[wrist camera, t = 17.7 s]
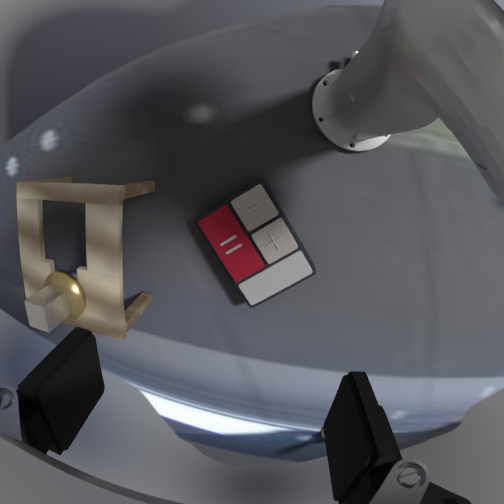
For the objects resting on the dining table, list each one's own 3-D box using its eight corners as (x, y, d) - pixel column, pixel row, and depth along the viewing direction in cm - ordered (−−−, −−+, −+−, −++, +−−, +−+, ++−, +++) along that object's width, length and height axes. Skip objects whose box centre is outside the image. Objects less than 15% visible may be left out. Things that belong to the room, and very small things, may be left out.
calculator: (261, 178, 38) (318, 274, 40) (263, 178, 42) (314, 265, 45) (192, 221, 40) (249, 311, 42) (199, 217, 44) (252, 299, 47)
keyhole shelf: (64, 175, 42) (16, 181, 31) (157, 179, 42) (119, 186, 30) (67, 284, 48) (29, 311, 36) (152, 302, 48) (123, 340, 36)
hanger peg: (78, 248, 42) (13, 284, 27) (114, 254, 42) (52, 296, 27) (81, 288, 44) (24, 333, 29) (116, 295, 44) (62, 348, 29)
